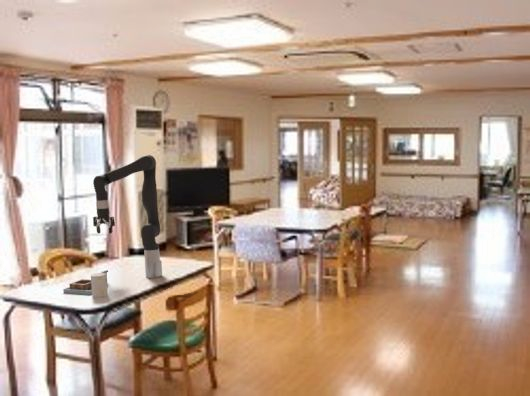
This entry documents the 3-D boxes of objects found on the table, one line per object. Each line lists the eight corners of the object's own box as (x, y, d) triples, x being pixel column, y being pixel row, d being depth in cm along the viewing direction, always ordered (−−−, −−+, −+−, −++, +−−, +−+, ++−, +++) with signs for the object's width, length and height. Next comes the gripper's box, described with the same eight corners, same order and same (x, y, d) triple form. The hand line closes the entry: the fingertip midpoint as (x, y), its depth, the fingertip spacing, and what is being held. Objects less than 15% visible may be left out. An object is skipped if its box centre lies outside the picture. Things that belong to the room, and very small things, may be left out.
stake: (109, 282, 356) (108, 270, 355) (104, 284, 351) (103, 272, 350) (106, 282, 356) (105, 270, 356) (101, 284, 352) (100, 272, 351)
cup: (99, 298, 320) (97, 276, 319) (89, 296, 325) (87, 275, 324) (110, 294, 327) (109, 273, 326) (100, 293, 332) (98, 272, 330)
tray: (107, 287, 344) (107, 283, 344) (90, 294, 329) (90, 290, 329) (81, 285, 350) (81, 282, 350) (63, 292, 336) (63, 289, 335)
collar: (100, 286, 343) (100, 280, 342) (88, 291, 332) (88, 284, 332) (82, 285, 347) (81, 279, 347) (70, 290, 337) (69, 283, 337)
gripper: (116, 206, 365) (117, 232, 367) (96, 206, 370) (98, 232, 372) (108, 208, 358) (110, 234, 360) (89, 208, 363) (91, 234, 365)
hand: (104, 233), depth 366 cm, fingers open, 8 cm apart
